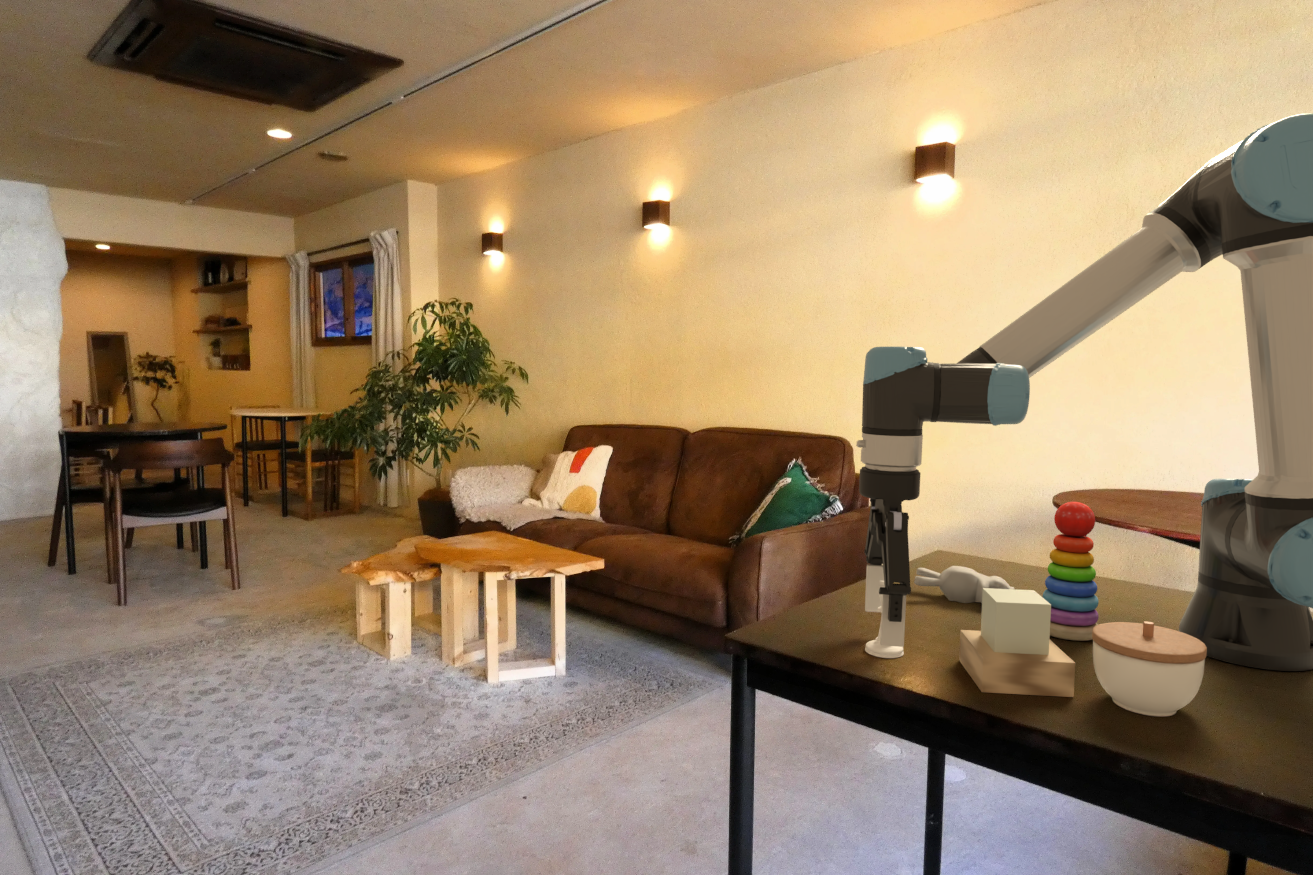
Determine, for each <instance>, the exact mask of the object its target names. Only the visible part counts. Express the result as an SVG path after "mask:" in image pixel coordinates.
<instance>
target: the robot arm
mask: <svg viewBox="0 0 1313 875" xmlns="http://www.w3.org/2000/svg"><path fill="white" fill-rule="evenodd" d="M1141 225H1142V226H1141V228H1140V229H1138V230H1137V231H1135V232H1134V233H1132V234H1131V235H1130V236H1128V237H1127V238H1126V239H1124V240H1123V241H1122V242H1121V243H1118V245H1116V246H1115V247H1113V248H1112V249H1111V250H1109V251H1108V252H1107V253H1105V254H1104V255H1103V256H1101V257H1100V258H1098V259H1097V260H1096V261H1094V262H1092V264H1090V265H1088V266H1087V267H1086V268H1084V270H1082V271H1081V272H1079V273H1078V274H1076V275H1075V276H1073V278H1071V279H1070V280H1068V281H1067V282H1066V283H1064V284H1063V285H1061V286H1060V287H1059V288H1057V289H1056V290H1055V291H1054V292H1052V293H1051V294H1049V295H1048V296H1046V297H1045V298H1043V299H1042V300H1041V301H1039V302H1038V303H1036V305H1034V306H1033V307H1031V308H1030V309H1028V310H1027V311H1026V312H1025V313H1023V314H1022V315H1020V316H1019V317H1018V318H1016V319H1015V320H1013V321H1012V322H1011V323H1010V324H1008V325H1007V326H1006V327H1004V328H1003V329H1001V330H1000V331H998V332H997V333H996V334H994V335H993V336H991V337H990V338H989V339H988V340H987V341H985V342H983V343H982V344H981V345H979V347H978V348H976V349H975V350H973V351H972V352H970V353H968V355H966V356H965V357H963V358H962V359H961V360H959V361H958V362H956V363H940V362H933V361H932V362H930V361H928V357H927V351H926V349H925V348H924V347H920V346H875V347H872V348H870V349H869V350H868V351H867V352H866V355H865V360H864V361H865V363H864V371H863V382H862V383H863V384H862V407H861V408H862V409H861V410H862V412H861V413H862V416H861V419H862V420H861V438H862V439H858V440H857V441H856V447H857V448H861V449H860V462H862V464H864V465H865V466H861V468H860V469H859V480H858V481H859V482H858V484H859V485H858V491H859V495H861V496H863V497H864V498H868V499H869V501H870V508H869V517H868V525H867V526H868V527H867V532H866V542H865V547H864V548H865V549H864V554H865V556H866V558H865V560H866V563H867V564H866V574H865V576H866V577H865V595H864V596H865V598H864V611H865V612H867V613H871V612H872V613H880V612H879V611H877V609H878V607H880V606H882V613H880V614H881V615H880V616H881V617H880V623H881V636H880V644H881V645H882V646H899V647H903V648H904V647H905V630H906V629H905V628H906V625H905V624H906V612H907V611H906V608H907V607H906V606H907V596H908V595H911V592H912V587H911V572H910V570H911V568H910V549H909V520H910V516H909V513H908V512H903V506H902V504H903V503H902V502H904V501H913V500H917V499H918V498H919V496H920V492H921V490H920V488H921V472H920V471H919V469H917V467H919V466H921V465H922V458H923V457H922V456H923V439H924V438H923V437H924V434H923V425H924V422H926V423H927V422H929V423H953V424H954V423H957V424H977V425H979V424H980V425H981V424H982V425H992V426H995V427H997V426H1000V425H1018V424H1021V423H1022V422H1023V421H1024V420H1025V418H1026V416H1027V415H1028V410H1029V404H1030V395H1031V394H1030V393H1031V392H1030V391H1031V386H1030V385H1031V384H1030V378H1032V377H1034V376H1035V375H1036V374H1037V373H1039V372H1040V371H1041V370H1043V369H1044V368H1046V367H1047V366H1049V365H1051V363H1053V362H1054V361H1056V360H1057V359H1059V358H1060V357H1062V356H1063V355H1064V354H1066V353H1068V352H1069V351H1070V350H1071V349H1073V348H1075V347H1076V346H1078V344H1080V343H1082V342H1083V341H1085V340H1086V339H1088V338H1089V337H1090V336H1091V335H1093V334H1095V333H1096V332H1097V331H1098V330H1100V329H1101V328H1103V327H1105V326H1106V325H1107V324H1109V323H1110V322H1112V321H1113V320H1115V319H1116V318H1118V317H1119V316H1120V315H1122V314H1124V313H1125V312H1126V311H1128V310H1129V309H1130V308H1131V307H1133V306H1135V305H1136V304H1138V303H1139V302H1140V301H1142V300H1143V299H1144V298H1146V297H1148V296H1149V295H1150V294H1152V293H1153V292H1155V291H1156V290H1158V289H1160V287H1162V286H1164V285H1165V284H1167V283H1168V282H1169V281H1171V279H1173V278H1174V277H1176V276H1177V275H1179V274H1180V273H1182V272H1183V273H1196V271H1199V269H1201V268H1202V267H1204V266H1205V265H1207V264H1208V263H1210V262H1212V261H1214V260H1215V259H1216V258H1218V257H1220V256H1222V259H1223V260H1226V261H1227V262H1229V263H1230V264H1232V265H1234V266H1235V267H1237V269H1238V270H1239V271H1240V281H1241V290H1242V303H1243V313H1244V322H1245V334H1246V335H1245V336H1246V343H1247V355H1248V365H1249V366H1248V367H1249V375H1250V376H1249V378H1250V388H1251V389H1250V390H1251V397H1252V407H1253V419H1254V429H1255V440H1256V442H1255V443H1256V444H1255V445H1256V452H1257V454H1256V455H1257V463H1258V464H1257V465H1258V473H1257V475H1256V476H1255V477H1254V478H1252V479H1251V478H1213V479H1210V480H1208V482H1207V483H1206V484H1205V486H1204V492H1203V496H1202V499H1201V502H1200V506H1201V520H1200V521H1201V524H1200V535H1199V536H1200V538H1199V541H1200V542H1199V554H1198V574H1197V586H1196V589H1195V591H1194V593H1193V595H1192V596H1191V599H1190V601H1189V603H1188V605H1187V607H1186V609H1185V612H1184V613H1183V615H1182V618H1181V619H1180V622H1179V626H1178V631H1179V632H1183V633H1186V634H1188V635H1190V636H1193V637H1195V638H1197V639H1199V640H1200V641H1202V642H1203V643H1204V644H1205V646H1206V647H1207V654H1206V657H1208V658H1211V659H1215V660H1219V661H1223V662H1226V663H1230V664H1234V665H1239V666H1244V667H1249V668H1255V669H1262V670H1269V671H1270V670H1271V671H1283V672H1284V671H1285V672H1301V671H1310V670H1313V615H1312V612H1311V609H1313V112H1312V113H1300V114H1298V113H1297V114H1295V115H1290V116H1287V117H1284V118H1281V119H1279V120H1277V121H1274V122H1272V123H1268V124H1265V125H1262V126H1261V127H1259V128H1256V129H1255V130H1254V131H1252V132H1251V133H1249V134H1248V135H1247V136H1246V137H1244V139H1242V140H1241V141H1239V142H1237V143H1236V144H1234V145H1233V146H1231V147H1229V148H1227V149H1226V150H1224V151H1222V152H1221V153H1219V154H1217V155H1216V156H1214V157H1212V158H1211V159H1210V160H1208V161H1207V162H1206V163H1205V164H1204V165H1203V166H1202V167H1201V168H1200V169H1198V170H1197V171H1196V172H1195V173H1194V174H1193V175H1192V176H1190V178H1188V179H1187V180H1186V182H1185V183H1183V184H1182V185H1181V186H1180V187H1179V188H1178V189H1177V190H1176V191H1174V192H1173V193H1172V194H1170V196H1169V197H1167V199H1165V200H1164V201H1163V202H1161V203H1160V204H1159V205H1158V206H1157V207H1154V209H1153V210H1151V211H1150V212H1148V213H1146V215H1144V217H1143V219H1142V224H1141ZM880 581H884V585H885V587H884V585H880ZM878 591H879V594H882V604H881V601H880V597H879V594H878ZM1310 608H1311V609H1310Z"/></svg>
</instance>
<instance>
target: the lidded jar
mask: <svg viewBox="0 0 1313 875" xmlns="http://www.w3.org/2000/svg"><path fill="white" fill-rule="evenodd" d="M1206 654H1207V647H1206V646H1205V644H1204V643H1203V642H1202V641H1200V640H1199V639H1197V638H1195V637H1193V636H1190V635H1188V634H1186V633H1183V632H1179V630H1175V629H1173V628H1168V627H1164V626H1159V625H1155V622H1152V621H1146V620H1144V621H1143V622H1142V623H1140V622H1132V621H1131V622H1128V621H1127V622H1126V621H1113V622H1103V623H1100V624H1098V625H1097V626H1095V627H1094V628H1093V630H1092V661H1093V662H1092V663H1093V668H1094V672H1095V674H1096V678H1097V680H1098V682H1099V683H1100V686H1101V687H1102V688H1103V690H1105V692H1106V693H1107V694H1108V695H1109V696H1110V697H1111V700H1112V702H1113V703H1114V704H1115V705H1117V706H1118V707H1120V708H1122V709H1124V710H1126V711H1129V712H1131V713H1135V714H1139V715H1143V716H1149V717H1156V718H1157V717H1158V718H1160V717H1162V718H1164V717H1170V716H1171V717H1172V716H1175V715H1176V714H1177V711H1178V710H1181V709H1182V708H1184V707H1186V706H1187V705H1189V704H1190V703H1191V702H1192V700H1194V699H1195V697H1196V695H1197V694H1198V692H1199V690H1200V688H1201V685H1202V681H1203V679H1204V678H1203V677H1204V672H1205V662H1206V658H1207V656H1206Z"/></svg>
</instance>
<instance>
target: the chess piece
mask: <svg viewBox="0 0 1313 875" xmlns="http://www.w3.org/2000/svg"><path fill="white" fill-rule="evenodd" d="M880 585H884V581H880ZM884 587H885V585H884ZM878 594H879V591H878ZM879 597H880V601H881V604H882V594H879ZM877 611H879V612H878V613H880V614H882V606H880V607H878V609H877ZM880 636H881V622H880V623H879V630H878V635H877V637H875V639H873V640H869V641H867V642H866V643H865V648H864V651H865V652H866V654H869V655H871V656H873V657H876V658H883V659H897V658H900V657H903V656H904V654H905V652H904V647H899V646H882V645H881V644H880Z"/></svg>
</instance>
